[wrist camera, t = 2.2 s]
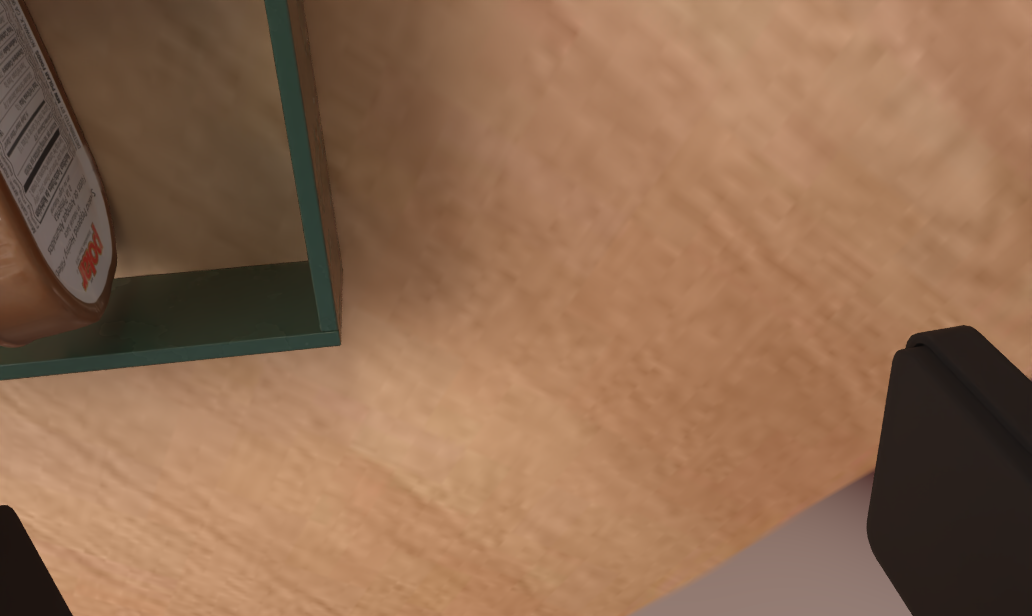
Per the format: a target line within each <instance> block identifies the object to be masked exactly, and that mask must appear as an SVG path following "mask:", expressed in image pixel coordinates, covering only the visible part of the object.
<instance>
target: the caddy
mask: <svg viewBox="0 0 1032 616" xmlns="http://www.w3.org/2000/svg"><path fill="white" fill-rule="evenodd" d="M264 2H265V8H266V14H267V19H268V25H269V31H270V37H271V43H272V49H273V55H274V61H275V67H276V72H277V78H278V84H279V90H280V96H281V102H282V108H283V114H284V120H285V125H286V131H287V137H288V143H289V149H290V155H291V161H292V167H293V172H294V178H295V184H296V190H297V196H298V202H299V208H300V214H301V220H302V225H303V231H304V237H305V243H306V249H307V255H308V261H302V262H292V263H281V264H270V265H259V266H248V267H237V268H227V269H216V270H205V271H194V272H183V273H172V274H161V275H151V276H140V277H129V278H118V279H113V283H112V287H111V293H110V297H109V301H108V304H107V307H106V309H105V311H104V313H103V315H102V317H101V319H100V320H99V321H98V322H96V323H93V324H90V325H88V326H85V327H82V328H79V329H76V330H72V331H67V332H63V333H60V334H56V335H52V336H48V337H44V338H40V339H36V340H34V341H32V342H31V343H29V344H27V345H25V346H22V347H4V346H0V380H10V379H20V378H29V377H39V376H49V375H59V374H68V373H78V372H88V371H98V370H107V369H117V368H127V367H136V366H146V365H156V364H166V363H175V362H185V361H195V360H204V359H214V358H224V357H234V356H243V355H253V354H263V353H273V352H282V351H292V350H302V349H311V348H321V347H331V346H340V345H341V327H342V285H343V268H342V261H341V255H340V248H339V241H338V235H337V228H336V221H335V214H334V207H333V201H332V194H331V187H330V180H329V173H328V167H327V160H326V153H325V146H324V139H323V133H322V126H321V119H320V112H319V106H318V99H317V92H316V85H315V78H314V72H313V65H312V58H311V51H310V44H309V38H308V31H307V24H306V17H305V10H304V4H303V0H264Z"/></svg>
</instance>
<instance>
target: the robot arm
mask: <svg viewBox="0 0 1032 616" xmlns="http://www.w3.org/2000/svg"><path fill="white" fill-rule="evenodd" d="M867 535H868V540H869V543H870V546H871V549H872V552H873V553H874V555H875V557H876V559H877V561H878V562H879V564H880V565H881V567H882V568H883V570H884V571H885V573H886V575H887V576H888V578H889V579H890V581H891V582H892V584H893V585H894V587H895V589H896V590H897V592H898V593H899V595H900V596H901V598H902V600H903V601H904V603H905V604H906V606H907V607H908V609H909V610H910V612H911V614H912V615H913V616H1032V382H1031V381H1030V380H1029V379H1028V378H1027V377H1026V376H1025V375H1024V374H1023V373H1022V372H1021V371H1020V370H1019V369H1018V368H1017V367H1016V366H1015V365H1013V364H1012V363H1011V362H1010V361H1009V360H1008V359H1007V358H1006V357H1005V356H1004V355H1003V354H1002V353H1001V352H1000V351H999V350H998V349H996V348H995V347H994V346H993V345H992V344H991V343H990V342H989V341H988V340H987V339H986V338H985V337H984V336H983V335H982V334H981V333H980V332H978V331H977V330H976V329H974V328H973V327H971V326H966V325H962V326H956V327H950V328H945V329H939V330H933V331H927V332H921V333H917V334H914V335H912V336H911V337H910V339H909V340H908V341H907V344H906V348H905V349H901V350H899V351H897V352H896V354H895V355H894V358H893V361H892V367H891V373H890V380H889V386H888V392H887V399H886V405H885V411H884V417H883V424H882V430H881V436H880V443H879V449H878V455H877V461H876V468H875V474H874V481H873V487H872V493H871V499H870V505H869V512H868V518H867ZM0 616H73V615H72V613H71V612H70V610H69V608H68V606H67V604H66V603H65V601H64V599H63V597H62V595H61V594H60V592H59V590H58V588H57V586H56V584H55V583H54V581H53V579H52V577H51V575H50V574H49V572H48V570H47V568H46V566H45V565H44V563H43V561H42V559H41V557H40V556H39V554H38V552H37V550H36V548H35V546H34V545H33V543H32V541H31V539H30V537H29V536H28V534H27V532H26V530H25V528H24V527H23V525H22V523H21V521H20V519H19V518H18V516H17V514H16V513H15V511H14V510H13V509H12V508H11V507H9V506H8V505H1V506H0Z"/></svg>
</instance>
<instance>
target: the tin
mask: <svg viewBox="0 0 1032 616" xmlns="http://www.w3.org/2000/svg"><path fill="white" fill-rule="evenodd" d="M116 266H117V249H116V240H115V233H114V227H113V222H112V218H111V213H110V208H109V205H108V201H107V198H106V194H105V191H104V187H103V184H102V181H101V178H100V175H99V172H98V170H97V167H96V164H95V162H94V159H93V157H92V154H91V152H90V150H89V147H88V145H87V143H86V141H85V138H84V136H83V134H82V131H81V129H80V127H79V124H78V122H77V120H76V118H75V115H74V113H73V111H72V108H71V106H70V104H69V102H68V99H67V97H66V95H65V92H64V90H63V88H62V85H61V83H60V81H59V78H58V76H57V74H56V72H55V69H54V67H53V65H52V63H51V60H50V58H49V56H48V54H47V51H46V49H45V47H44V45H43V42H42V40H41V38H40V36H39V34H38V31H37V29H36V27H35V25H34V22H33V20H32V18H31V16H30V13H29V11H28V9H27V7H26V4H25V2H24V0H0V346H4V347H22V346H25V345H27V344H29V343H31V342H32V341H34V340H36V339H40V338H44V337H48V336H52V335H56V334H60V333H63V332H67V331H72V330H76V329H79V328H82V327H85V326H88V325H90V324H93V323H96V322H98V321H99V320H100V319H101V317H102V315H103V313H104V311H105V309H106V307H107V304H108V301H109V297H110V293H111V287H112V283H113V279H114V275H115V271H116Z"/></svg>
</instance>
